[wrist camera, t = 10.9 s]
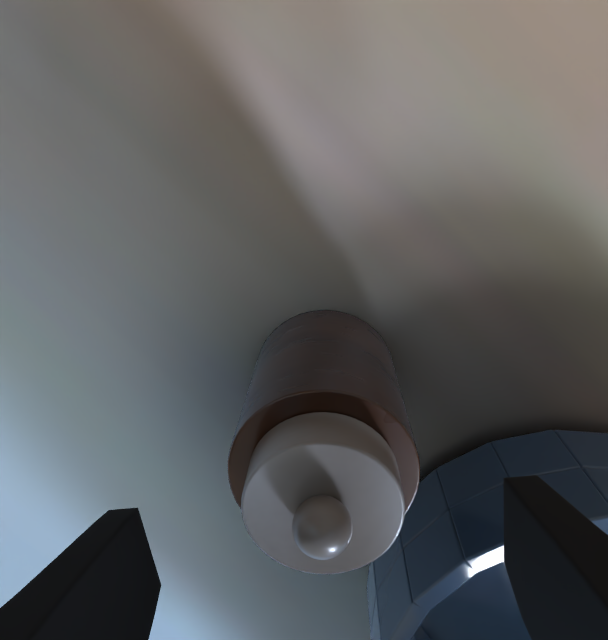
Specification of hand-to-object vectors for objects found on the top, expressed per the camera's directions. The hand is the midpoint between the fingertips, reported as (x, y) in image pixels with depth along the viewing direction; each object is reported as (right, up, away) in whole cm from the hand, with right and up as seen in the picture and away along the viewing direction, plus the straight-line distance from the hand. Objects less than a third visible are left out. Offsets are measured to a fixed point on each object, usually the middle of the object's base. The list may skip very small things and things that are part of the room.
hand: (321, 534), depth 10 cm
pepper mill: (0, +2, +7) cm, 7 cm away
